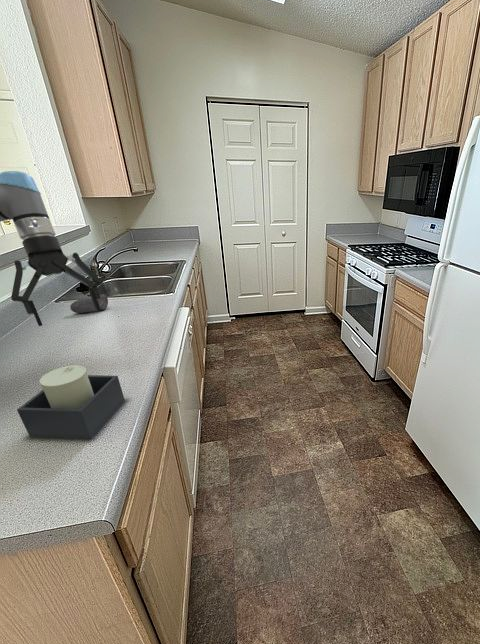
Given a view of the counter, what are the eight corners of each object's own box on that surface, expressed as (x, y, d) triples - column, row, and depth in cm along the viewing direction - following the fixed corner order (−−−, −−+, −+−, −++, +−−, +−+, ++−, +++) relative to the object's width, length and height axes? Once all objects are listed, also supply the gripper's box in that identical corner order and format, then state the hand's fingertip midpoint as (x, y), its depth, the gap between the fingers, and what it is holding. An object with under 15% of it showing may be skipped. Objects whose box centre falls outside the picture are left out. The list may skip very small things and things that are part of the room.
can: (105, 401, 86) (92, 361, 81) (91, 424, 78) (75, 382, 73) (66, 405, 85) (50, 365, 80) (48, 429, 77) (29, 386, 71)
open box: (30, 437, 76) (16, 409, 72) (72, 399, 89) (62, 374, 85) (91, 439, 75) (80, 411, 72) (125, 401, 88) (117, 375, 85)
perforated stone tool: (72, 316, 144) (67, 301, 141) (72, 312, 148) (67, 298, 145) (110, 310, 151) (106, 295, 148) (110, 307, 155) (106, 292, 152)
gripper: (-28, 241, 74) (12, 331, 78) (95, 229, 89) (123, 305, 93) (-24, 248, 80) (13, 332, 84) (91, 236, 95) (118, 307, 99)
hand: (71, 318), depth 89 cm, fingers open, 13 cm apart
